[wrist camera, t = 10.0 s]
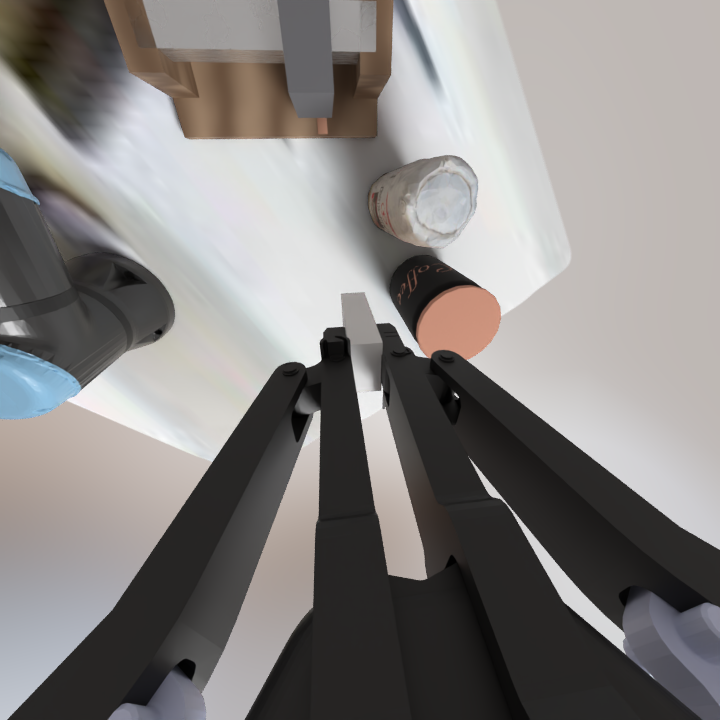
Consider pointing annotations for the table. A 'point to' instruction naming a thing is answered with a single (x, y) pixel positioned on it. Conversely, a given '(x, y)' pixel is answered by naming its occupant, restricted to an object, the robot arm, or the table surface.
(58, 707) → the robot arm
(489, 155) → the table surface
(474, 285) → the coffee jar
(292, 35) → the tall grey notched block
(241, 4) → the light grey long bar
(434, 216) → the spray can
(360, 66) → the pipe stand
